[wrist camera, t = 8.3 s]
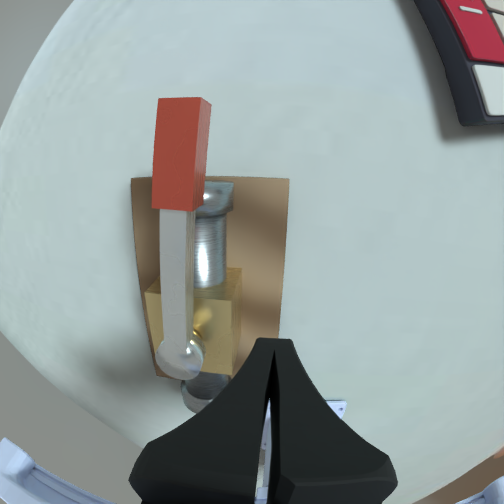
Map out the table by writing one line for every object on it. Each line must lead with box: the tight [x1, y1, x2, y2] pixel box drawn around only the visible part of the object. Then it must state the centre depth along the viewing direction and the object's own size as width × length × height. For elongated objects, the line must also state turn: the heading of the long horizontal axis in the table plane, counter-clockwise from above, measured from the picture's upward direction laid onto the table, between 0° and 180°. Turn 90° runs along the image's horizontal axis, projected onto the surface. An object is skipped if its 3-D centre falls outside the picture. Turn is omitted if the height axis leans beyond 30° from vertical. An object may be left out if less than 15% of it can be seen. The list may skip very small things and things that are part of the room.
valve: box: [144, 180, 242, 414], centre depth 19 cm, size 18×5×6 cm, turn 178°
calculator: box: [414, 0, 504, 126], centre depth 11 cm, size 11×4×15 cm
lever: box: [152, 97, 212, 380], centre depth 13 cm, size 3×14×2 cm, turn 175°
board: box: [131, 176, 289, 380], centre depth 22 cm, size 18×11×1 cm, turn 178°
